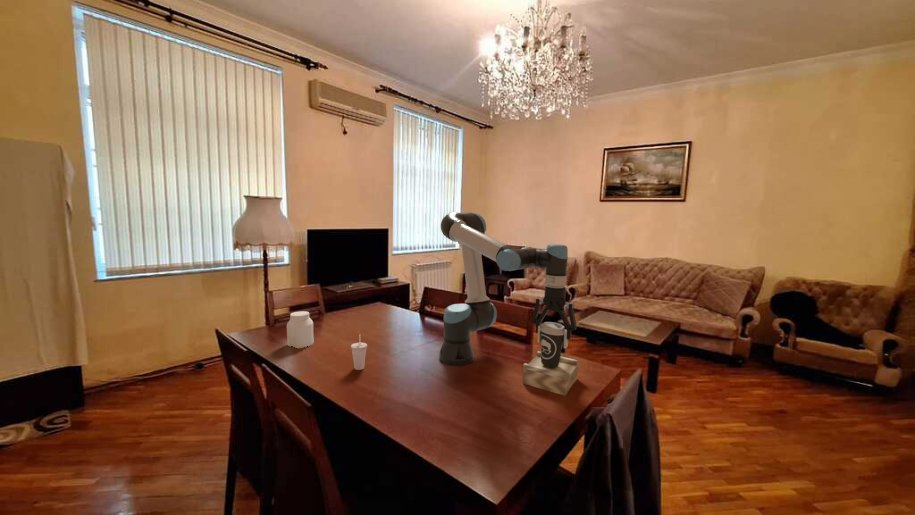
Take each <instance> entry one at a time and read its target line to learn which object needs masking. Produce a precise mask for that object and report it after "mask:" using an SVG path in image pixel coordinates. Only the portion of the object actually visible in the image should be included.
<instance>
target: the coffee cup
mask: <svg viewBox="0 0 915 515" xmlns="http://www.w3.org/2000/svg"><path fill="white" fill-rule="evenodd" d="M541 325H542V326H541V327H540V330H541V342H540V349H541V350H540V352H541V363H542V364H543V365H545V366H548V367H557V366H558V365H559V360H560V356H562V355H561V354H562V350H563V346H564V332H565V330H566V327H565V325H564V324H562V323H558V322H552V321H544V322H543V323H541Z"/></svg>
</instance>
